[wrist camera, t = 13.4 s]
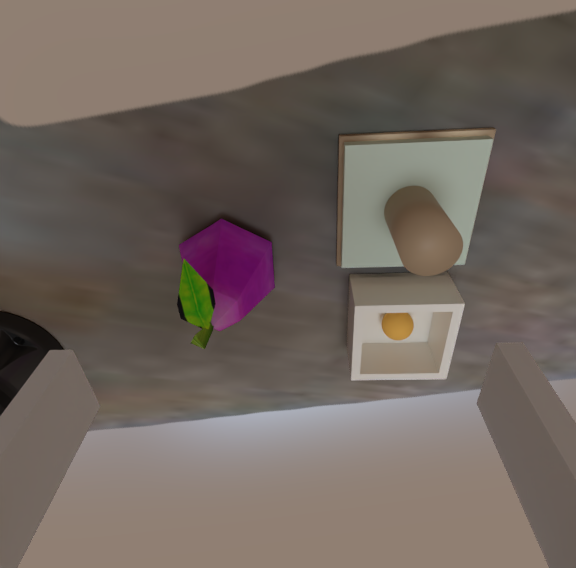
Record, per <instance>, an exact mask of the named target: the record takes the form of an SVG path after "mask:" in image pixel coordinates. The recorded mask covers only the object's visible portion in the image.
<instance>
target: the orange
mask: <svg viewBox="0 0 576 568" xmlns="http://www.w3.org/2000/svg"><path fill="white" fill-rule="evenodd" d="M413 328H414V323H413V319H412V317H411V316H410V315H409V314H408V313H386V314H385V316H384V317H383V319H382V329H383V332H384V333H385V335H386V336H387V337H389V338H390V339H393V340H403V339H406V338H407V337H409V336H410V334H411V333H412V331H413Z"/></svg>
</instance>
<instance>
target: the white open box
mask: <svg viewBox="0 0 576 568" xmlns="http://www.w3.org/2000/svg"><path fill="white" fill-rule="evenodd" d="M464 306H465V303H464V301H463V299H462V297H461V296H460V294H459V292H458V290H457V288H456V286H455V285H454V283H453V281H452V279H451V277H450V276H449V274H448V272H442V273H440V274H437V275H432V276H420V275H416V274H413V273H375V274H349V296H348V321H347V353H348V361H349V368H350V376H351V380H419V379H447V374H448V370H449V366H450V362H451V358H452V354H453V350H454V346H455V342H456V338H457V334H458V330H459V326H460V322H461V318H462V314H463V310H464ZM386 313H408V314H409V315H410V316H411V317H412V319H413V323H414V328H413V331H412V333H411V334H410V336H409V337H407V338H406V339H403V340H393V339H390V338H389V337H387V336H386V335H385V333H384V332H383V329H382V319H383V317H384V316H385V314H386Z"/></svg>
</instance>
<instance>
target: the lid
mask: <svg viewBox="0 0 576 568" xmlns="http://www.w3.org/2000/svg"><path fill="white" fill-rule="evenodd" d="M492 144H493V138H491V137H490V136H467V137H444V138H422V139H399V140H377V141H355V142H344V164H343V202H342V240H341V266H342V268H362V267H399V266H404V267H405V268H406V269H407V270H408V271H410V272H411V273H413V274H416V275H420V276H432V275H437V274H440V273H442V272H444V271H446V270H448V269H449V268H451V267H452V266H453V265H465V261H466V256H467V252H468V248H469V243H470V239H471V235H472V230H473V226H474V222H475V217H476V213H477V209H478V204H479V200H480V196H481V191H482V187H483V183H484V178H485V174H486V170H487V165H488V161H489V157H490V152H491V148H492Z"/></svg>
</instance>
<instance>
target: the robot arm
mask: <svg viewBox="0 0 576 568" xmlns="http://www.w3.org/2000/svg"><path fill="white" fill-rule="evenodd" d="M477 405H478V407H479V410H480V412H481V414H482V416H483V419H484V421H485V423H486V425H487V428H488V430H489V432H490V435H491V437H492V439H493V441H494V443H495V446H496V448H497V450H498V453H499V455H500V457H501V459H502V462H503V464H504V466H505V468H506V471H507V473H508V475H509V478H510V480H511V482H512V484H513V487H514V489H515V491H516V494H517V496H518V498H519V500H520V503H521V505H522V507H523V509H524V512H525V514H526V516H527V519H528V520H529V523H530V525H531V528H532V530H533V532H534V534H535V537H536V539H537V541H538V543H539V546H540V548H541V550H542V552H543V555H544V557H545V559H546V561H547V564H548V566H549V568H576V423H575V421H574V420H573V418H572V417H571V415H570V414H569V412H568V411H567V409H566V407H565V406H564V404H563V403H562V401H561V400H560V398H559V397H558V395H557V394H556V392H555V391H554V389H553V388H552V386H551V385H550V383H549V382H548V380H547V379H546V377H545V376H544V374H543V373H542V371H541V370H540V368H539V367H538V365H537V363H536V362H535V360H534V359H533V357H532V356H531V354H530V353H529V351H528V350H527V348H526V347H525V345H524V344H523V343H496V346H495V349H494V352H493V355H492V358H491V361H490V364H489V367H488V370H487V373H486V376H485V379H484V382H483V386H482V389H481V392H480V395H479V398H478V401H477ZM99 408H100V405H99V403H98V400H97V398H96V396H95V394H94V392H93V390H92V388H91V386H90V384H89V382H88V380H87V378H86V376H85V374H84V372H83V369H82V367H81V365H80V363H79V361H78V359H77V357H76V355H75V353H74V351H73V350H63V349H62V347H61V346H60V345H59V343H58V342H57V341H56V340H55V339H54V338H53V337H52V336H51V335H50V334H48V333H47V332H46V331H45V330H43V329H42V328H40V327H39V326H37V325H35V324H34V323H32V322H30V321H28V320H25V319H23V318H21V317H18V316H15V315H12V314H8V313H4V312H0V568H17V567H18V565H19V563H20V561H21V559H22V558H23V556H24V554H25V552H26V550H27V548H28V546H29V544H30V542H31V540H32V538H33V536H34V534H35V532H36V530H37V528H38V526H39V524H40V523H41V521H42V519H43V517H44V515H45V513H46V511H47V509H48V507H49V505H50V503H51V501H52V499H53V497H54V495H55V493H56V491H57V489H58V488H59V486H60V484H61V482H62V480H63V478H64V476H65V474H66V472H67V470H68V468H69V466H70V464H71V462H72V460H73V458H74V457H75V454H76V452H77V451H78V449H79V447H80V445H81V443H82V441H83V439H84V437H85V435H86V433H87V431H88V429H89V427H90V425H91V423H92V422H93V420H94V418H95V416H96V414H97V412H98V410H99Z"/></svg>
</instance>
